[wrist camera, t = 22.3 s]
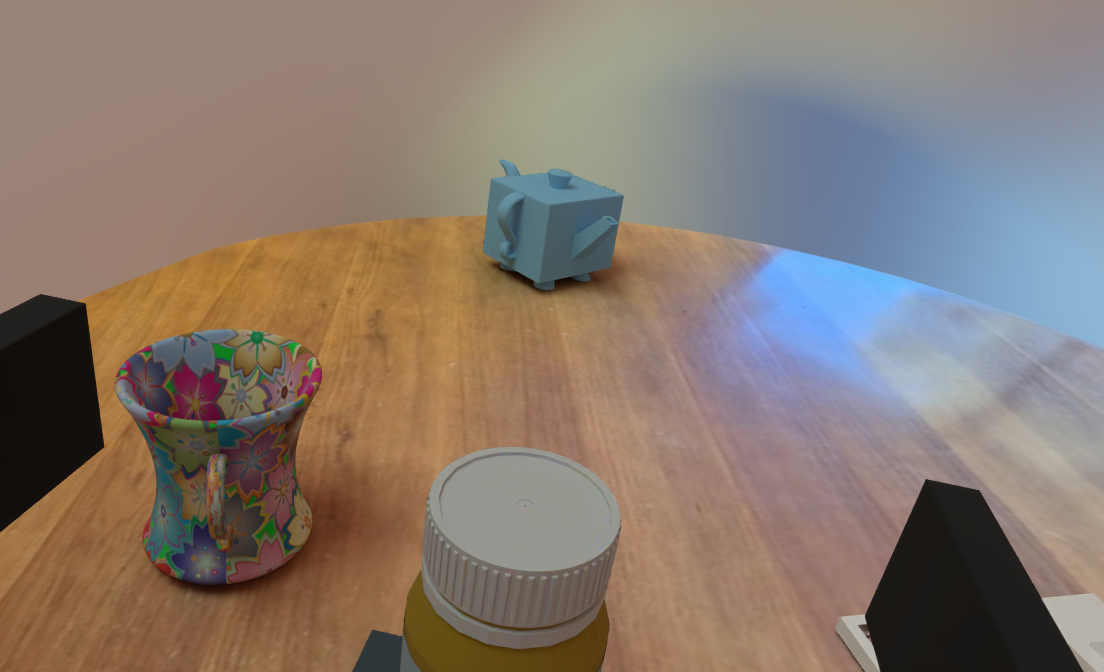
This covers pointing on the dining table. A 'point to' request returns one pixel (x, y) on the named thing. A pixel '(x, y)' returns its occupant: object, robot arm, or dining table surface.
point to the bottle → (513, 567)
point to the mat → (380, 653)
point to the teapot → (551, 225)
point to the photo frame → (1084, 620)
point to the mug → (222, 450)
